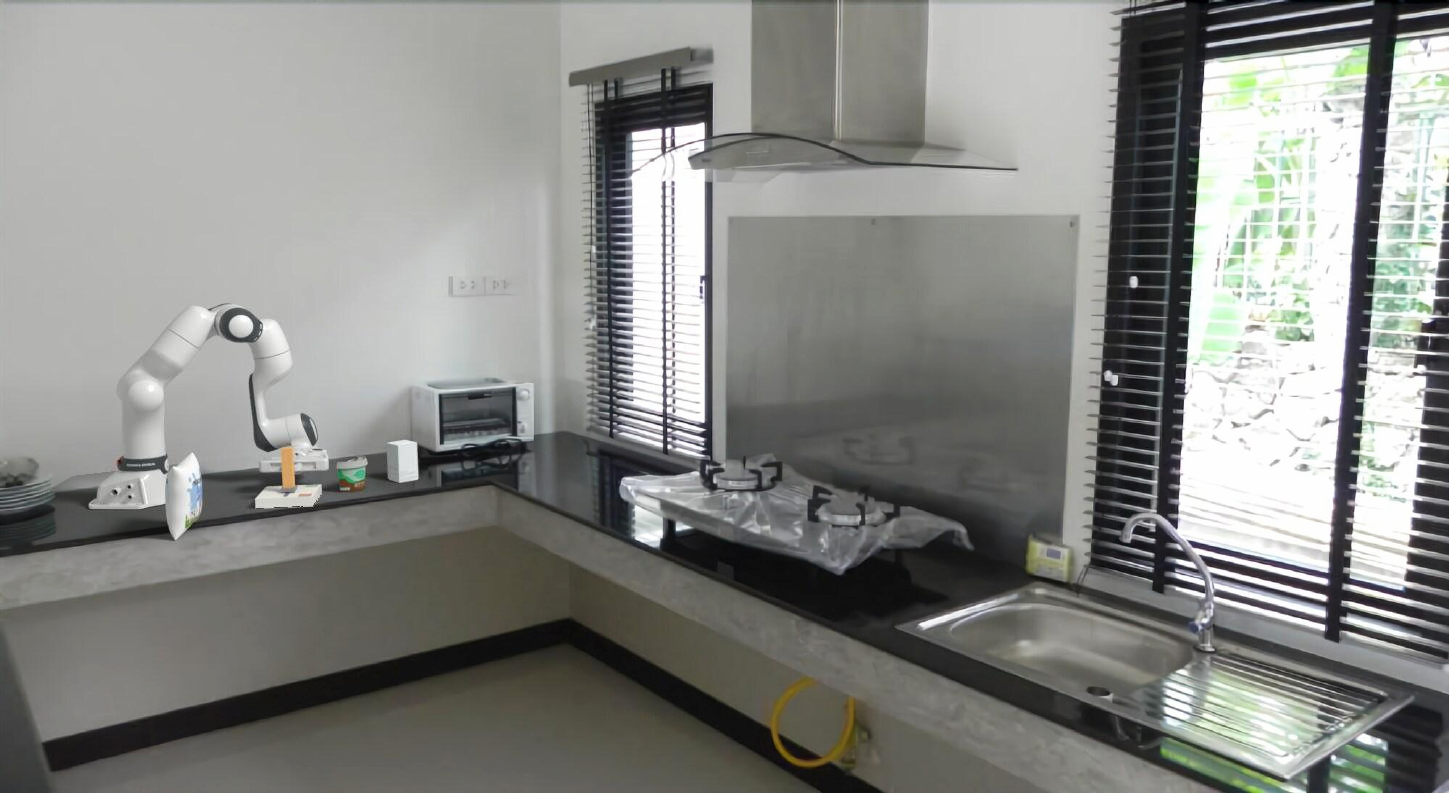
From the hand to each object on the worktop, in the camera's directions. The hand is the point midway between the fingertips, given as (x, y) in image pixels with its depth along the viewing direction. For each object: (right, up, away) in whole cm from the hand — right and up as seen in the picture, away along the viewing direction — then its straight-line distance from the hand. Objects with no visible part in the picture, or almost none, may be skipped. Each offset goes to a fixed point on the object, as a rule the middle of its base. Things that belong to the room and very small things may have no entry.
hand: (290, 469), depth 323 cm
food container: (+16, -8, +13) cm, 22 cm away
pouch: (-14, -15, -36) cm, 41 cm away
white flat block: (+1, -9, -2) cm, 10 cm away
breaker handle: (+1, -6, -3) cm, 7 cm away
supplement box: (+26, -5, +27) cm, 38 cm away
